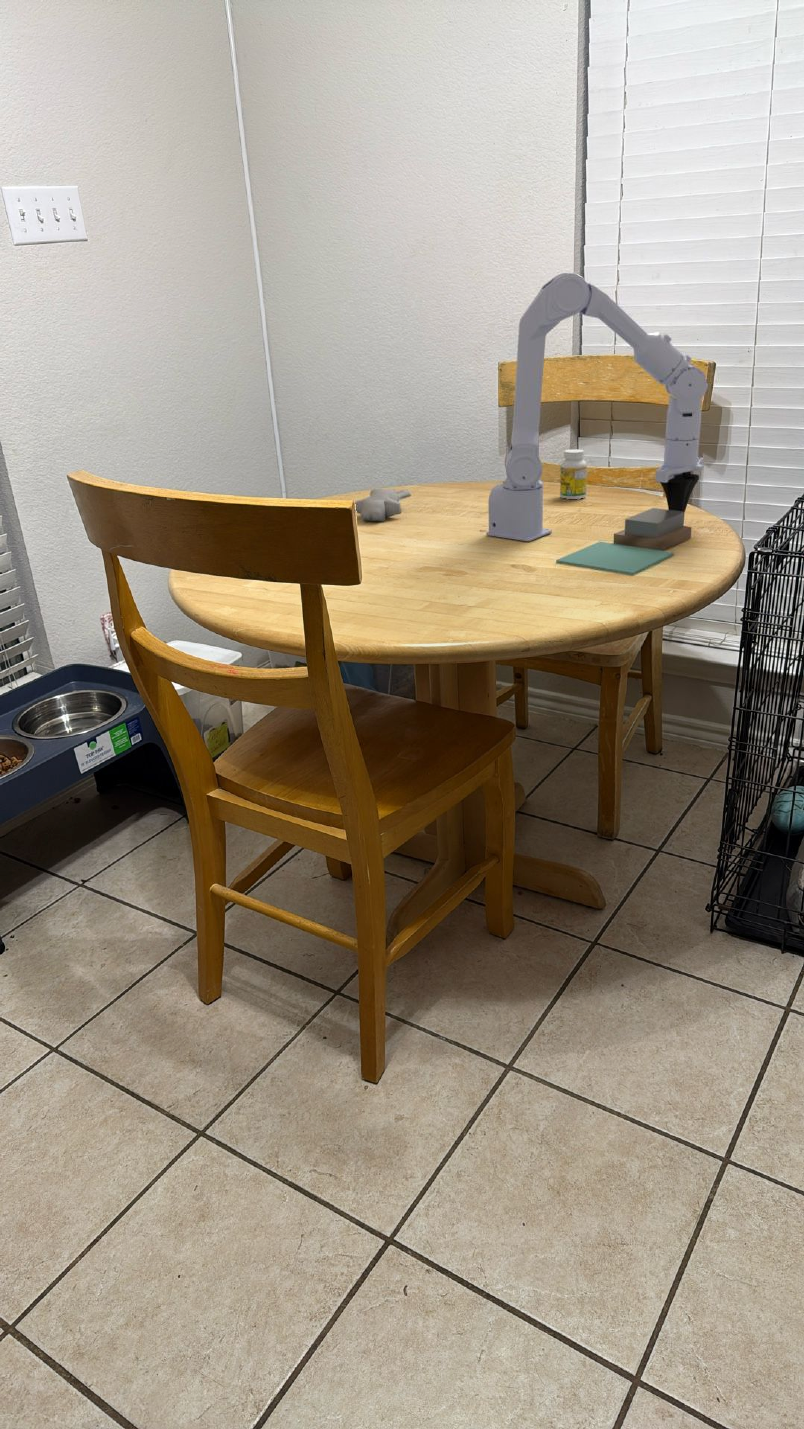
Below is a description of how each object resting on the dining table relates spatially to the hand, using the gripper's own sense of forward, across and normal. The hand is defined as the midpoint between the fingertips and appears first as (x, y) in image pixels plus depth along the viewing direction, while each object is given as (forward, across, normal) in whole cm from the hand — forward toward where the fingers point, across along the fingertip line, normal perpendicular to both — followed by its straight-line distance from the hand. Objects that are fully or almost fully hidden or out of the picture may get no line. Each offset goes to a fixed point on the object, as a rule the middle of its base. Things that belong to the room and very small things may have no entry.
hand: (676, 516), depth 174 cm
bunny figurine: (+3, -17, +56) cm, 58 cm away
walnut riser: (+3, -9, 0) cm, 9 cm away
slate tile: (+1, -8, 0) cm, 8 cm away
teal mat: (+3, -22, 0) cm, 22 cm away
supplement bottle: (+3, +16, +31) cm, 35 cm away
